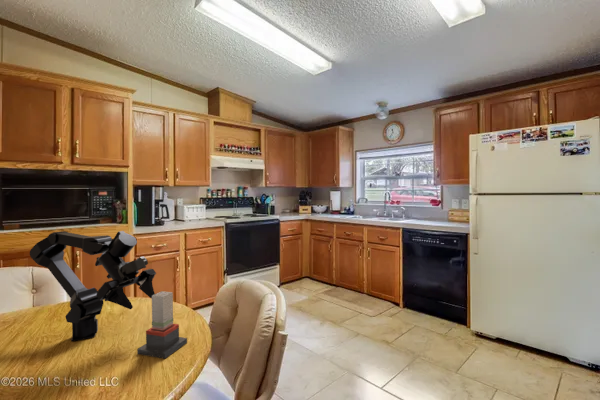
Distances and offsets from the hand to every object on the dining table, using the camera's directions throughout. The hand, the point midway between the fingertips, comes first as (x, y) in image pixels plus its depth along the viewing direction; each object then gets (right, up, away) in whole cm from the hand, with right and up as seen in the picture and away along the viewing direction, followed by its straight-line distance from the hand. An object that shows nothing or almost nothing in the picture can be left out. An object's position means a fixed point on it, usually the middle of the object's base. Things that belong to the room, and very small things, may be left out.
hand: (143, 303), depth 96 cm
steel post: (+7, -8, -2) cm, 11 cm away
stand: (+7, -13, -2) cm, 15 cm away
